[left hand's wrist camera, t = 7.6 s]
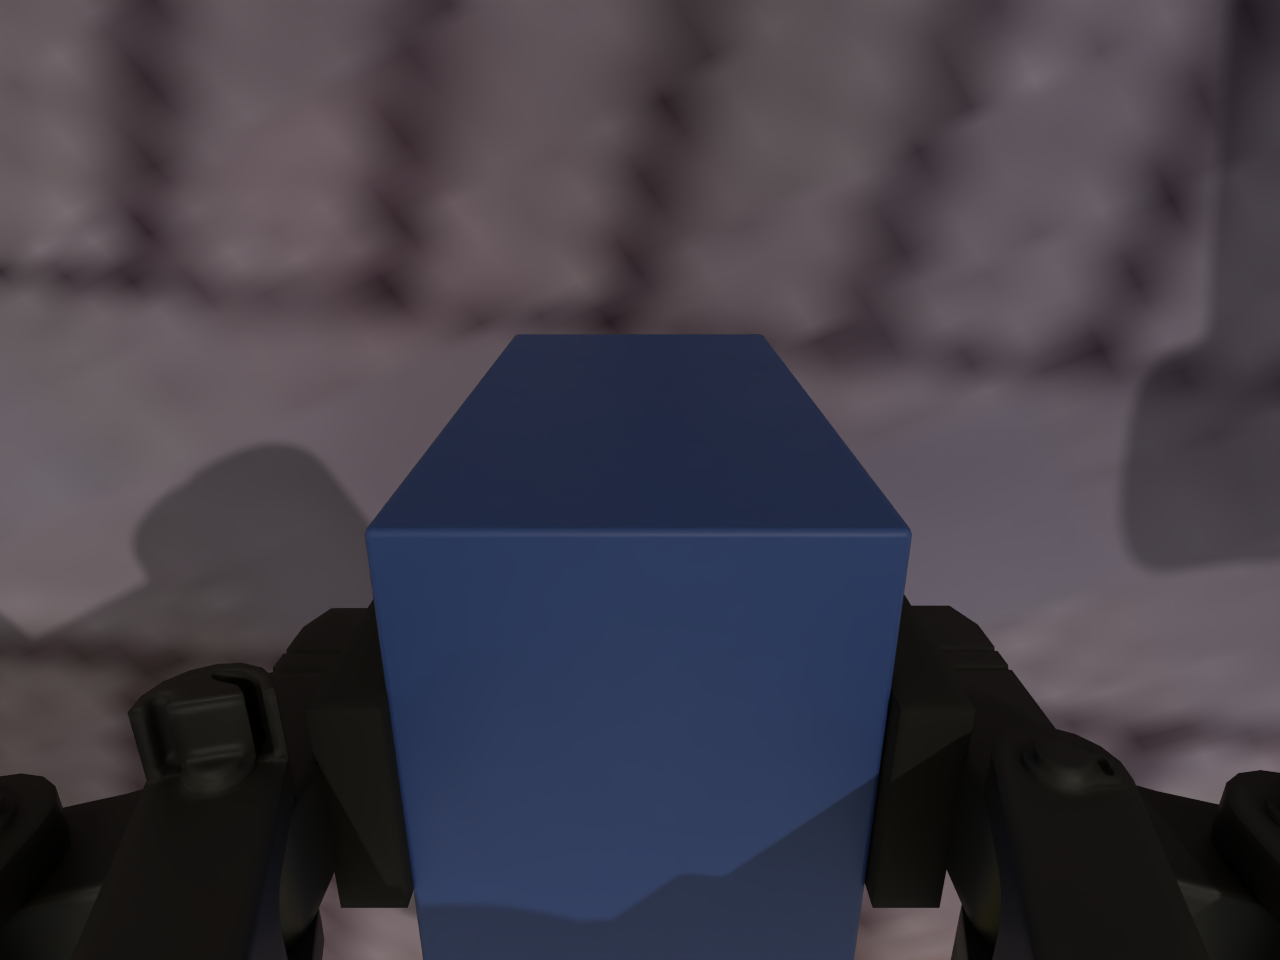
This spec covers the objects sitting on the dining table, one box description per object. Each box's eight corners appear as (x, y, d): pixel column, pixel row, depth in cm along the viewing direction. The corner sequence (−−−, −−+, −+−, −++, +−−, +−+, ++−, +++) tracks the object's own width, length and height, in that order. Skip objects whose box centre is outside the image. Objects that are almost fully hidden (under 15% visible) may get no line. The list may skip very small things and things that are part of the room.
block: (530, 605, 19) (428, 1008, 10) (515, 333, 17) (360, 530, 8) (748, 605, 19) (849, 1009, 10) (763, 334, 17) (916, 530, 8)
